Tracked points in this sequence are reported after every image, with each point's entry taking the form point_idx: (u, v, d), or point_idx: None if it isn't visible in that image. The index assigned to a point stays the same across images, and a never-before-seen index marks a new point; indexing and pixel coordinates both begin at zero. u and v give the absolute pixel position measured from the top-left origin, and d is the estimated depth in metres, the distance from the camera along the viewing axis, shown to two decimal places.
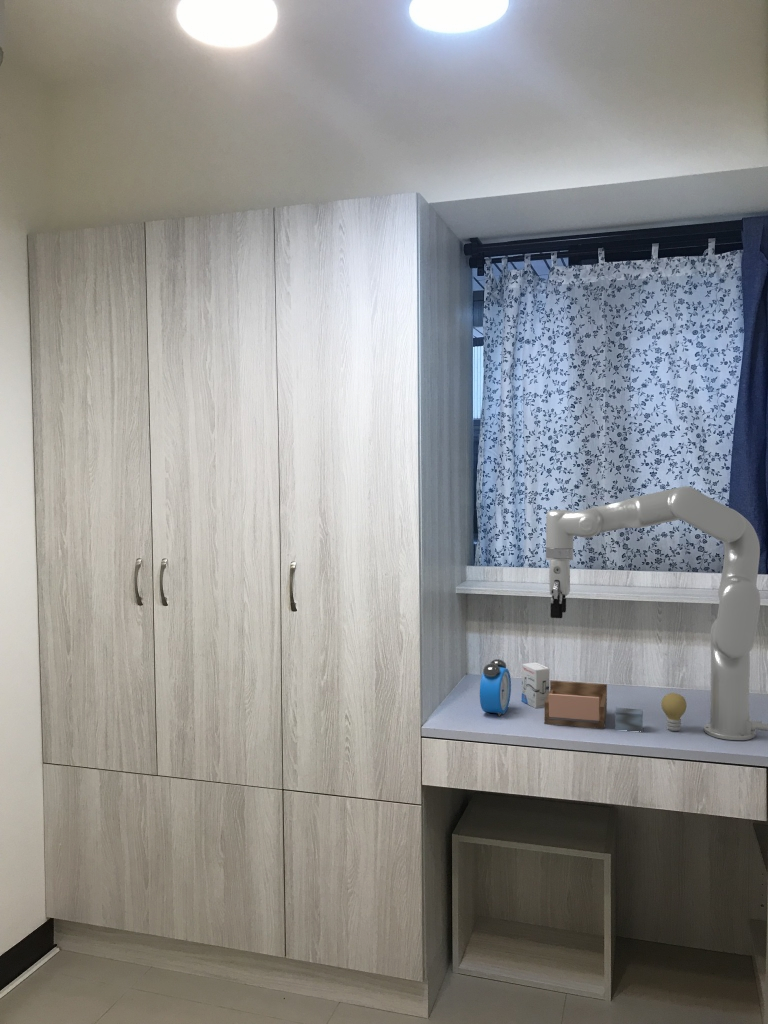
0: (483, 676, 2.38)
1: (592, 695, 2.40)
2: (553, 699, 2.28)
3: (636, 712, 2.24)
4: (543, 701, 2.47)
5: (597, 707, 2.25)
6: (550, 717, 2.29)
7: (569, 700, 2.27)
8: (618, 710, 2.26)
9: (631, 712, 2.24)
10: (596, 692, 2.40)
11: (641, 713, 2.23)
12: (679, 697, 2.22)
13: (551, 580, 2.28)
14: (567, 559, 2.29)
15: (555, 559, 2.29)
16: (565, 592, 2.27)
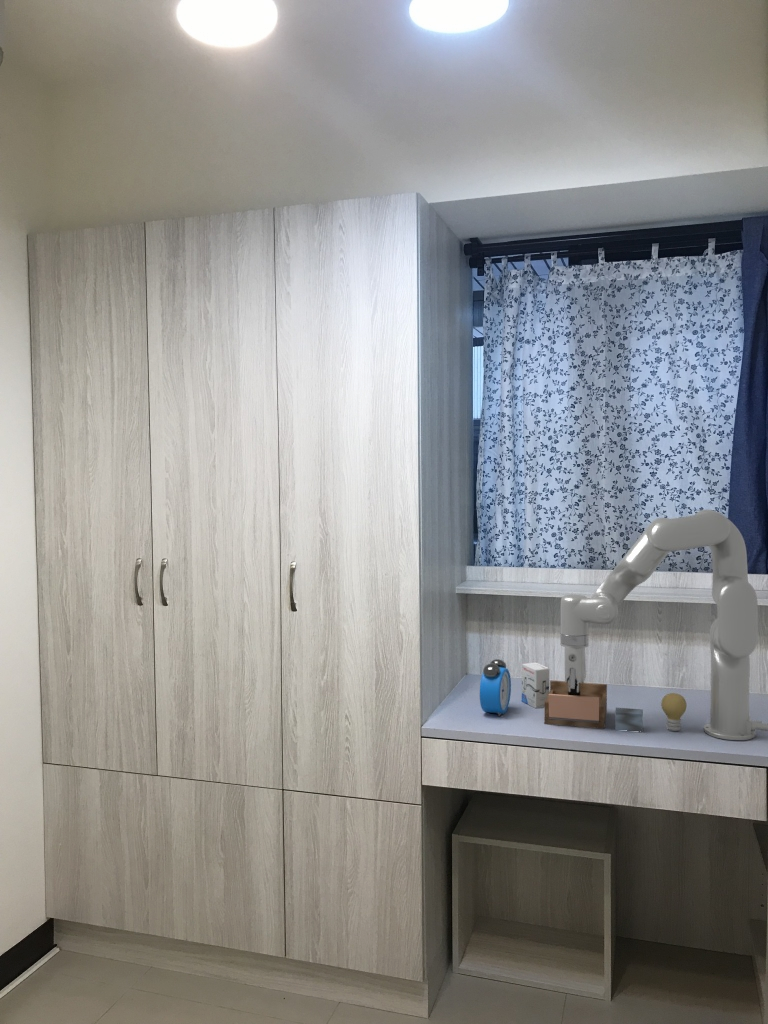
0: (483, 676, 2.38)
1: (592, 695, 2.40)
2: (553, 699, 2.28)
3: (636, 712, 2.24)
4: (543, 701, 2.47)
5: (597, 707, 2.25)
6: (550, 717, 2.29)
7: (569, 700, 2.27)
8: (618, 710, 2.26)
9: (631, 712, 2.24)
10: (596, 692, 2.40)
11: (641, 713, 2.23)
12: (679, 697, 2.22)
13: (566, 668, 2.25)
14: (582, 646, 2.25)
15: (570, 646, 2.25)
16: (581, 680, 2.24)
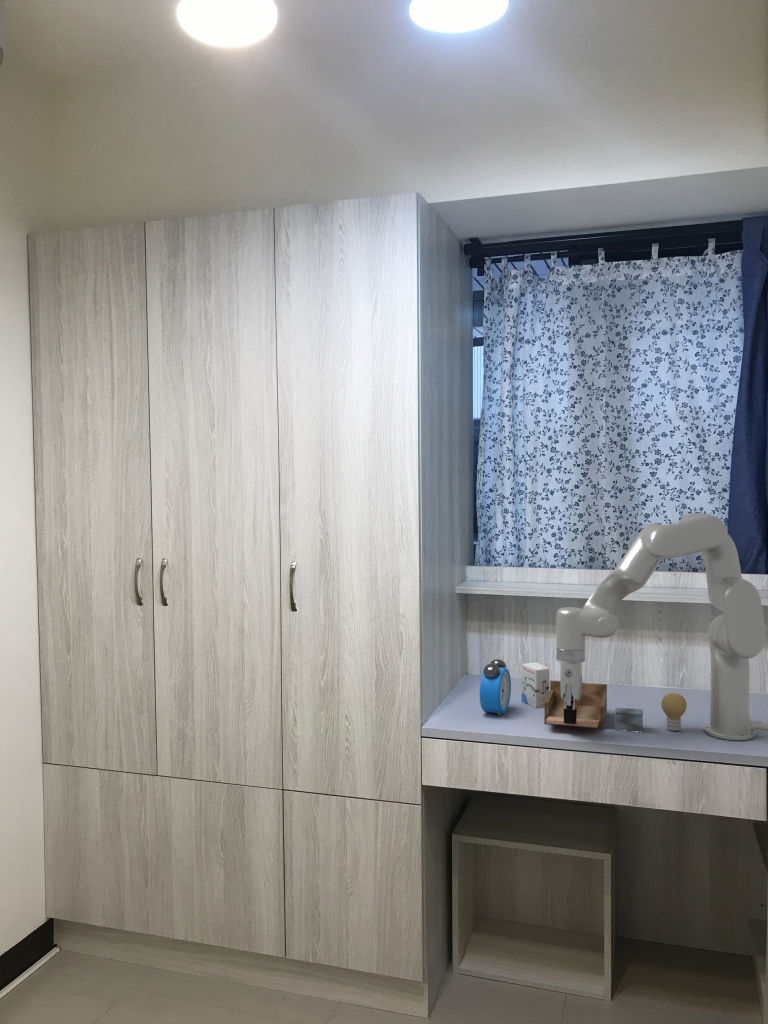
0: (483, 676, 2.38)
1: (592, 695, 2.40)
2: None
3: (636, 712, 2.24)
4: (543, 701, 2.47)
5: None
6: None
7: None
8: (618, 710, 2.26)
9: (631, 712, 2.24)
10: (596, 692, 2.40)
11: (641, 713, 2.23)
12: (679, 697, 2.22)
13: (562, 684, 2.16)
14: (579, 661, 2.17)
15: (566, 661, 2.17)
16: (577, 697, 2.15)
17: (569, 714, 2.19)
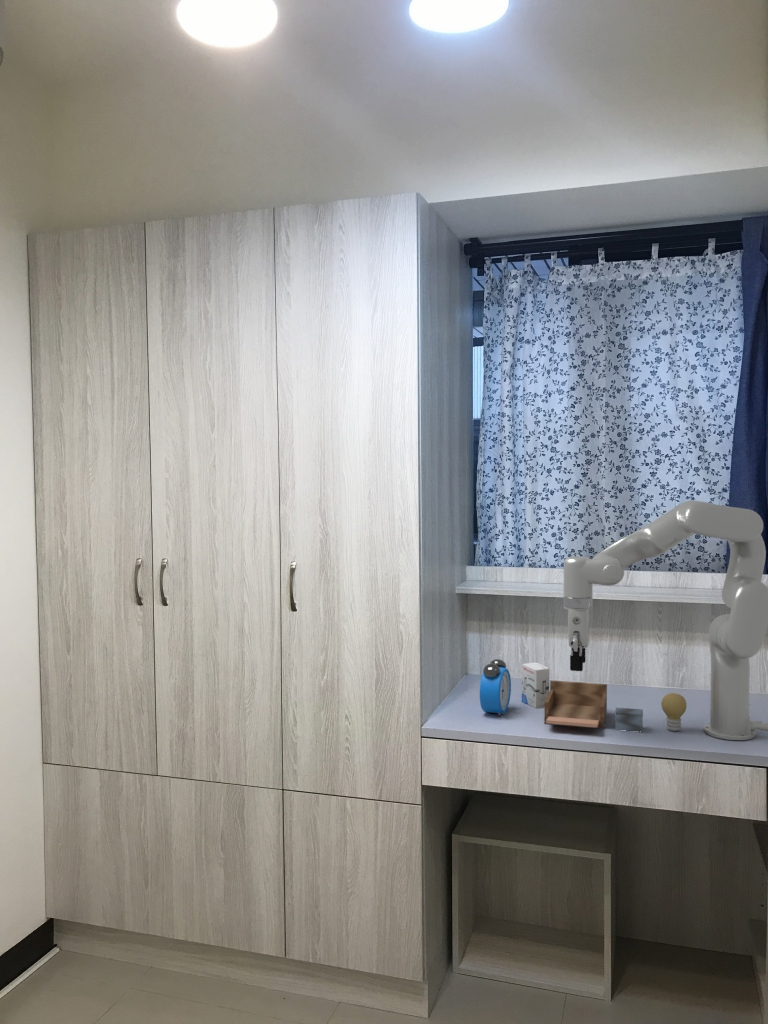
0: (483, 676, 2.38)
1: (592, 695, 2.40)
2: None
3: (636, 712, 2.24)
4: (543, 701, 2.47)
5: None
6: None
7: None
8: (618, 710, 2.26)
9: (631, 712, 2.24)
10: (596, 692, 2.40)
11: (641, 713, 2.23)
12: (679, 697, 2.22)
13: (570, 631, 2.18)
14: (586, 609, 2.19)
15: (574, 609, 2.19)
16: (585, 644, 2.17)
17: (576, 661, 2.17)
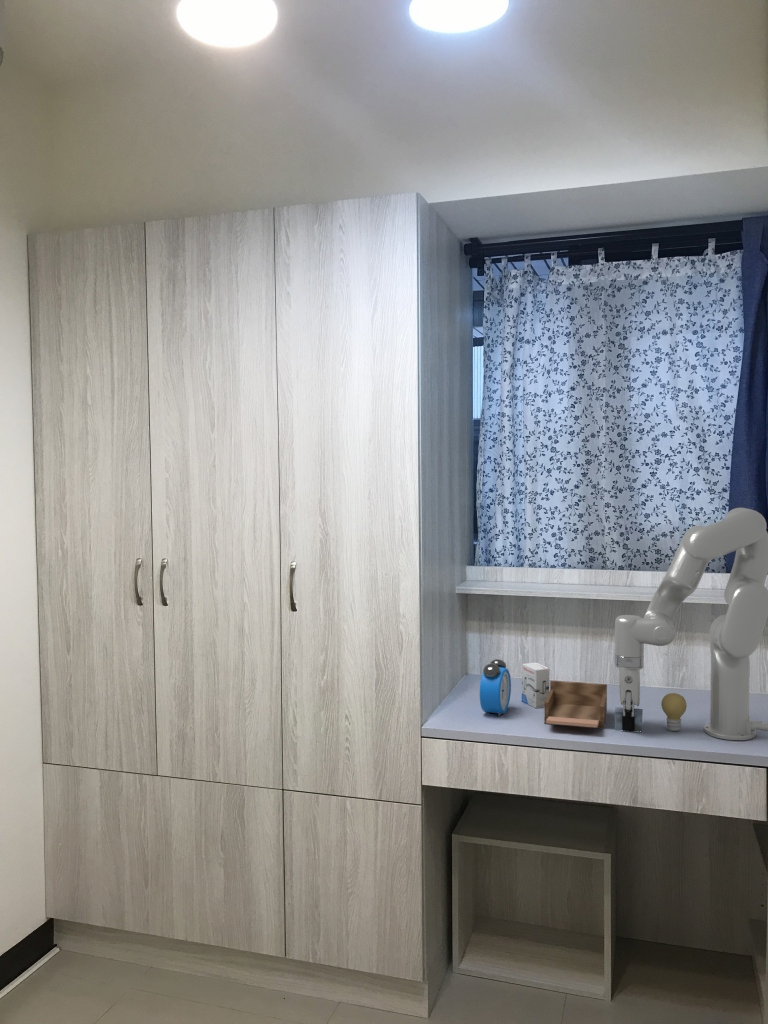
0: (483, 676, 2.38)
1: (592, 695, 2.40)
2: None
3: (636, 712, 2.24)
4: (543, 701, 2.47)
5: None
6: None
7: None
8: (618, 710, 2.26)
9: None
10: (596, 692, 2.40)
11: (641, 713, 2.23)
12: (679, 697, 2.22)
13: (622, 690, 2.21)
14: (638, 668, 2.22)
15: (626, 668, 2.22)
16: (637, 703, 2.20)
17: (628, 721, 2.22)
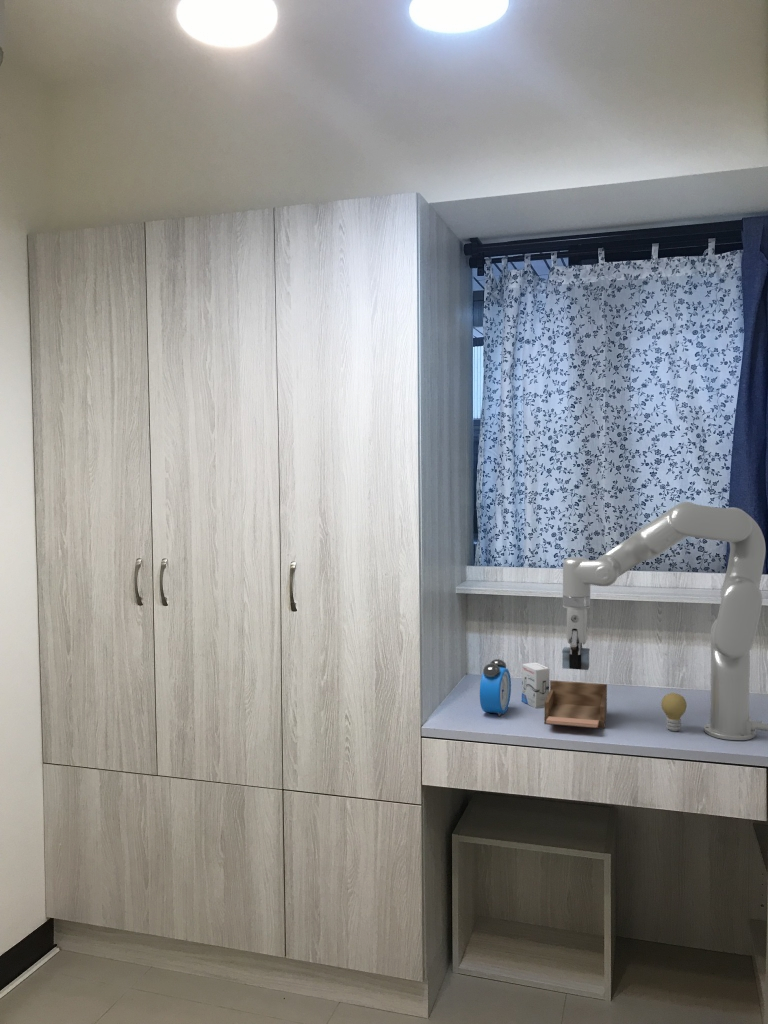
0: (483, 676, 2.38)
1: (592, 695, 2.40)
2: None
3: (582, 650, 2.31)
4: (543, 701, 2.47)
5: None
6: None
7: None
8: (565, 649, 2.33)
9: None
10: (596, 692, 2.40)
11: (587, 651, 2.31)
12: (679, 697, 2.22)
13: (569, 629, 2.29)
14: (584, 607, 2.29)
15: (572, 607, 2.29)
16: (583, 641, 2.28)
17: (574, 659, 2.30)
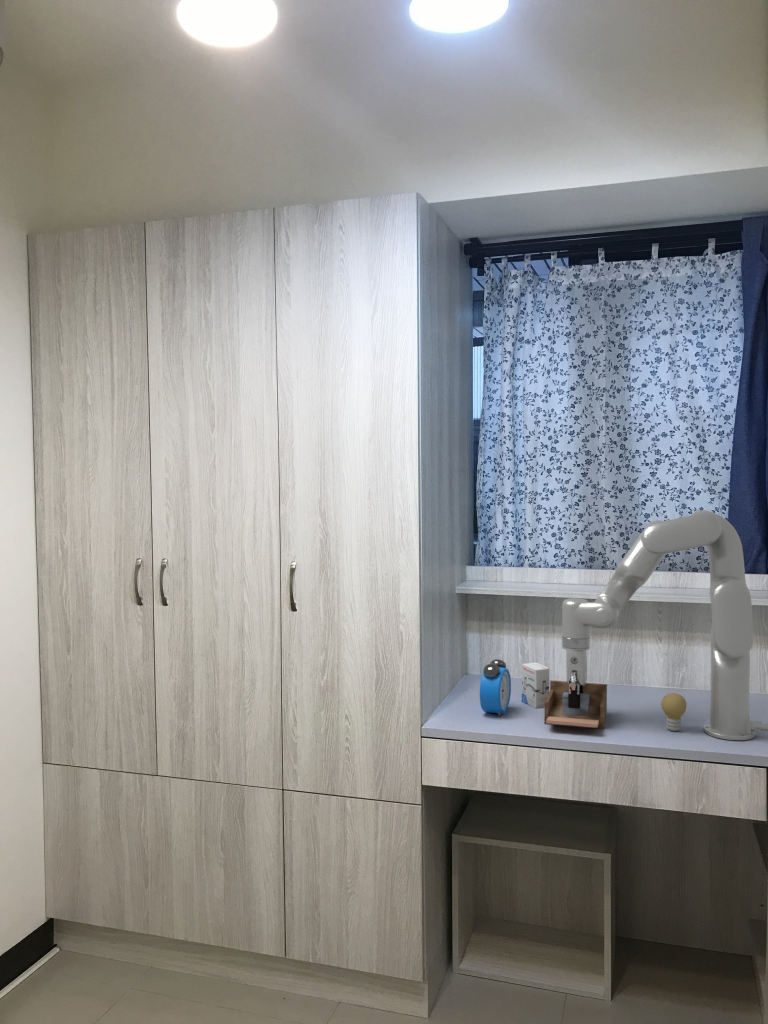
0: (483, 676, 2.38)
1: (592, 695, 2.40)
2: None
3: (582, 697, 2.32)
4: (543, 701, 2.47)
5: None
6: None
7: None
8: (565, 694, 2.34)
9: None
10: (596, 692, 2.40)
11: (587, 697, 2.31)
12: (679, 697, 2.22)
13: (568, 670, 2.29)
14: (584, 649, 2.30)
15: (572, 649, 2.30)
16: (582, 682, 2.28)
17: (573, 699, 2.28)
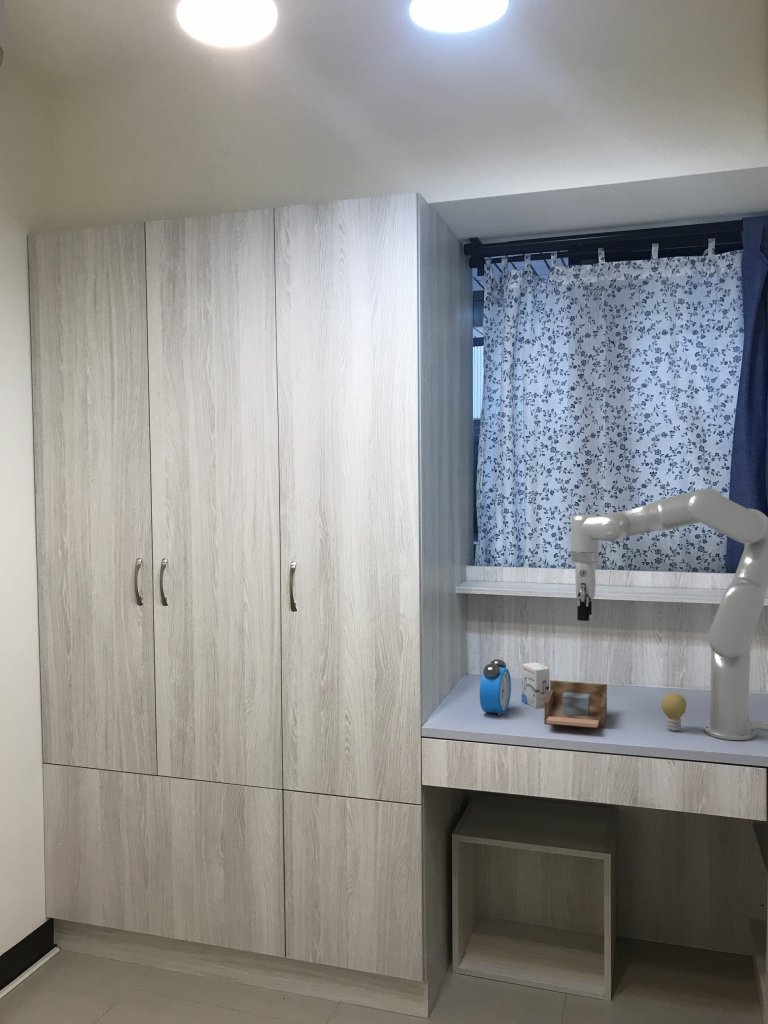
0: (483, 676, 2.38)
1: (592, 695, 2.40)
2: None
3: (582, 697, 2.32)
4: (543, 701, 2.47)
5: None
6: None
7: None
8: (565, 694, 2.34)
9: (577, 696, 2.32)
10: (596, 692, 2.40)
11: (587, 697, 2.31)
12: (679, 697, 2.22)
13: (577, 583, 2.32)
14: (593, 562, 2.33)
15: (581, 563, 2.33)
16: (591, 595, 2.31)
17: (582, 611, 2.31)
